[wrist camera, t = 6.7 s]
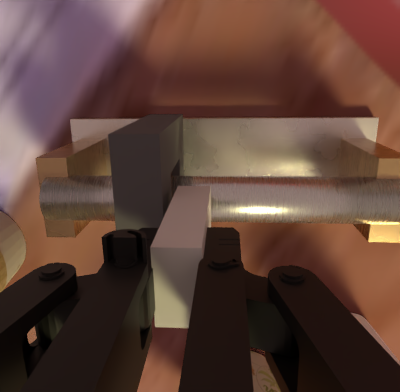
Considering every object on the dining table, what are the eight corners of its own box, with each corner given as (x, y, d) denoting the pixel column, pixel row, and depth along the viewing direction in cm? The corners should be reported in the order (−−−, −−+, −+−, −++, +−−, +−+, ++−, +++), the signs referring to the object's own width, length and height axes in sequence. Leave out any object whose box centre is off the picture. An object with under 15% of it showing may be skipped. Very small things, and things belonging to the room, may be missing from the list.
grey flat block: (155, 238, 25) (122, 313, 17) (149, 114, 23) (107, 134, 15) (185, 238, 25) (167, 314, 17) (182, 114, 22) (159, 134, 15)
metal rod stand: (85, 214, 28) (28, 268, 20) (74, 118, 26) (7, 136, 18) (361, 217, 27) (419, 276, 19) (373, 116, 25) (444, 135, 17)
